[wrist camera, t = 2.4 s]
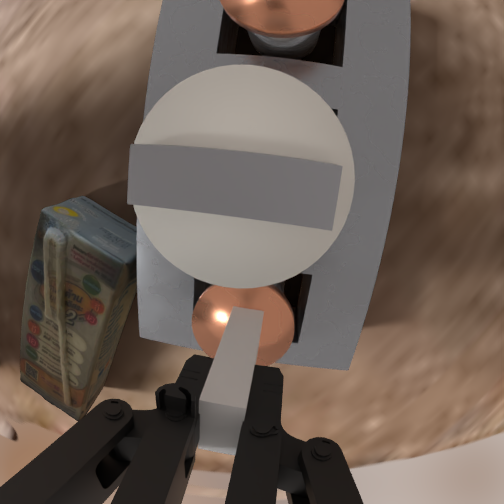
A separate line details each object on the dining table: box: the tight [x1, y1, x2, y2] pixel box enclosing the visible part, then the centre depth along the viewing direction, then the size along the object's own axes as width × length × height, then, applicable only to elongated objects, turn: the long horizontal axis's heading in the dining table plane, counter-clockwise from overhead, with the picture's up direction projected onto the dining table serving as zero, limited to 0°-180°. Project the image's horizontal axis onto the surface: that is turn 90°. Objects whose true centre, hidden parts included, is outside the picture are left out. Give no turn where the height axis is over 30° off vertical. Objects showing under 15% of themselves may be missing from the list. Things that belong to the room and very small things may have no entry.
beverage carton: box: [20, 196, 137, 421], centre depth 23 cm, size 8×19×7 cm, turn 152°
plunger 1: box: [220, 0, 344, 60], centre depth 12 cm, size 5×5×7 cm
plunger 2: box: [192, 281, 294, 366], centre depth 19 cm, size 5×5×7 cm
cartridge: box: [127, 65, 355, 289], centre depth 13 cm, size 5×5×16 cm
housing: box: [137, 0, 411, 370], centre depth 19 cm, size 14×24×5 cm, turn 173°
